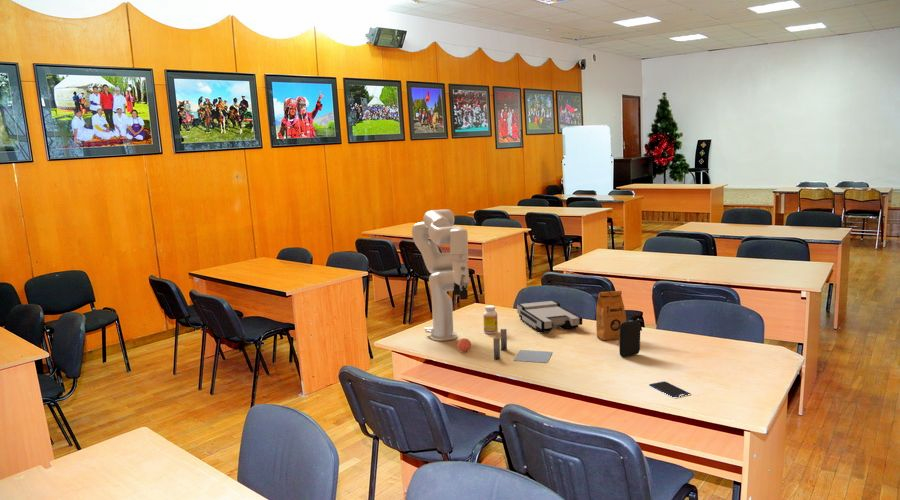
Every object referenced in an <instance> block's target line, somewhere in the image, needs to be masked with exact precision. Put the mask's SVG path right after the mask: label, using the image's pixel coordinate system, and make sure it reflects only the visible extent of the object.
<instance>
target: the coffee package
mask: <svg viewBox="0 0 900 500" xmlns="http://www.w3.org/2000/svg"><path fill="white" fill-rule="evenodd" d="M622 294H623V291H622V290H613V291H600V292H599V293H598V295H597V296H598V297H597V301H596V324H595V325H596V337H597V338H599V339H600V340H603V341H611V340H613V341H614V340H615V341H616V340H620V325H621V323H623V322H627V314H626V310H625V305H624V300H623V297H622Z"/></svg>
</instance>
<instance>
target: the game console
mask: <svg viewBox="0 0 900 500" xmlns="http://www.w3.org/2000/svg"><path fill="white" fill-rule="evenodd" d="M516 312H517V314H518V317H519V318H520V321H521V320H522V321H521V322H523V323H524V322H525V323H526V324H525V323H524V324H525V325H527V326H528V325H529V326H528V327H530V328H531V327H532V328H531V329H533V330H534V331H535V332H537V333H538V332H539V333H538V334H540V333H541V332H543V333H549V331H551V332H552V331H553V330H554V327H555V328H556V327H558V328H560V327H561V328H560V329H562V330H563V331H570V330H576V329H577V328H579V326H580V325H583V317H581V316H579V315H578V314H576V313H574V312H572V311H571V310H569V309H567V308H565V307H563V306H561V303H560V302H558V301H556V300H549V301H537V302H536V301H535V302H529V303H528V302H526V303H518V304H517V305H516Z"/></svg>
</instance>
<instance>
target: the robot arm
mask: <svg viewBox="0 0 900 500" xmlns="http://www.w3.org/2000/svg"><path fill="white" fill-rule="evenodd" d="M455 219H456V218H455V214H454V212H453V211H452V210H451V209H447V208H446V209H445V208H444V209H432V210H428V211H426V212H425V213H424V215H423V219H422V220H423V221H420V222H417V223H415V224H413V226H411V227H412V228H411V235H412V240H413V242H414V244H415V246H416V247H417V249H418V250H419V252H420V253H421V256H422V259H423V262H424V264H425V267H426V269H427V271H428V273H429V274H430V275H429V278H428V284H429V289H430V295H431V310H432V327H424V331H425V333H426V334H430V335H429V338H430V339H431V340H433V341H440V342H441V341H442V342H444V341H452V340H455V339H457V337H458V336H457V335H458V333H456V332H455V331H454V317H453V316H454V313H453V312H454V311H453V300H452V298H451V296H450V295H449V294H448V292H450V291H452V292H453V295H454V296H455V295H458V296H459V300H461V301H462V300H464V301H465V300H468V285H469V284H470V274H469V273H470V272H469V265H468V262H469V243H468V240H469V239H468V238H469V237H468V234H469V233H468V230H467V229H466V228H463V226H460V225H456V226H454V224H455ZM439 245H440V246H442V245H443V246H444V245H449V251H450V252H443V253H442V252H440V250H439V247H438V246H439Z"/></svg>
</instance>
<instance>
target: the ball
mask: <svg viewBox="0 0 900 500" xmlns="http://www.w3.org/2000/svg"><path fill="white" fill-rule="evenodd" d="M457 348H458V350H459V351H460V352H462V353H468V352H469V351H470V350H471V348H472V343H471V341H470V339H468V338H461V339H459V341H458V342H457Z"/></svg>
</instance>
